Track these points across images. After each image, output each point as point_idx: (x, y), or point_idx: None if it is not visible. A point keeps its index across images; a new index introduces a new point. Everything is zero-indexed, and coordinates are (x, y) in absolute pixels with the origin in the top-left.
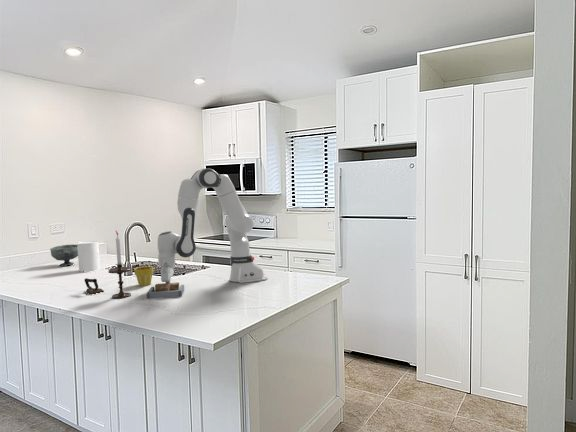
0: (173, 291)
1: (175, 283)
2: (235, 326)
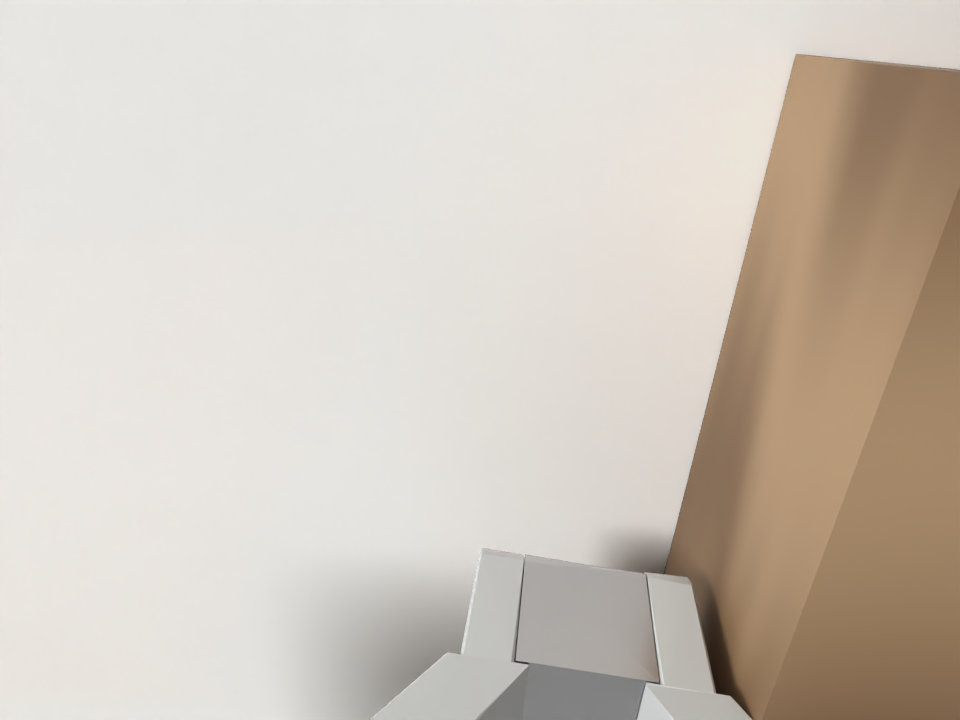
0: None
1: None
2: None
